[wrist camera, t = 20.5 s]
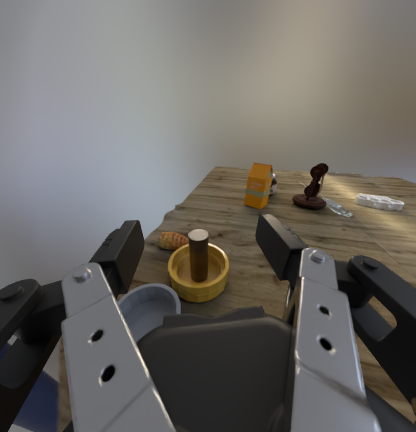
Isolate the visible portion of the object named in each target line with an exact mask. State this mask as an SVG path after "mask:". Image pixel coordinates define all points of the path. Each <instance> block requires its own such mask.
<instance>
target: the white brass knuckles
mask: <svg viewBox="0 0 416 432" xmlns="http://www.w3.org/2000/svg"><path fill="white" fill-rule="evenodd" d="M354 203H356V204H358V205H363V206H368V207H371V208H378V209H383V210H397V211H399V210H401V208H402V207H403V205H404V203H403V202H401V201H397V200H393V199H390V198H388V197H381V196H375V195H366V194H361V193H360V194H358V195H357V197H356V199H355V201H354Z"/></svg>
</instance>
